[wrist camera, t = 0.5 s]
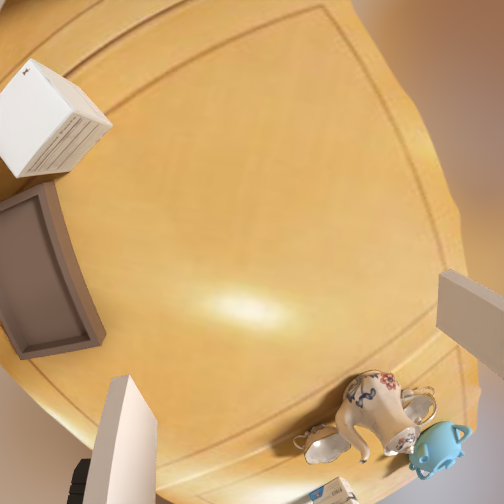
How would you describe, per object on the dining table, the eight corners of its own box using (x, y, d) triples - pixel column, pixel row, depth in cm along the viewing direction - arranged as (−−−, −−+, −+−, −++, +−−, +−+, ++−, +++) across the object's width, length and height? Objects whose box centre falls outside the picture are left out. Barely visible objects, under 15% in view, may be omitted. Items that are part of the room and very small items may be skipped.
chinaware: (294, 447, 50) (323, 517, 35) (277, 400, 43) (313, 490, 28) (419, 389, 53) (463, 442, 38) (428, 331, 46) (489, 389, 31)
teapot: (454, 403, 56) (480, 429, 45) (449, 436, 61) (469, 460, 51) (403, 438, 55) (427, 469, 44) (404, 466, 60) (422, 493, 50)
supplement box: (37, 132, 28) (-25, 123, 16) (80, 85, 27) (31, 53, 16) (70, 174, 30) (14, 181, 18) (116, 127, 30) (75, 108, 18)
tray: (-23, 216, 28) (-36, 221, 25) (53, 180, 30) (42, 182, 27) (28, 349, 34) (20, 360, 31) (106, 333, 36) (101, 345, 33)
